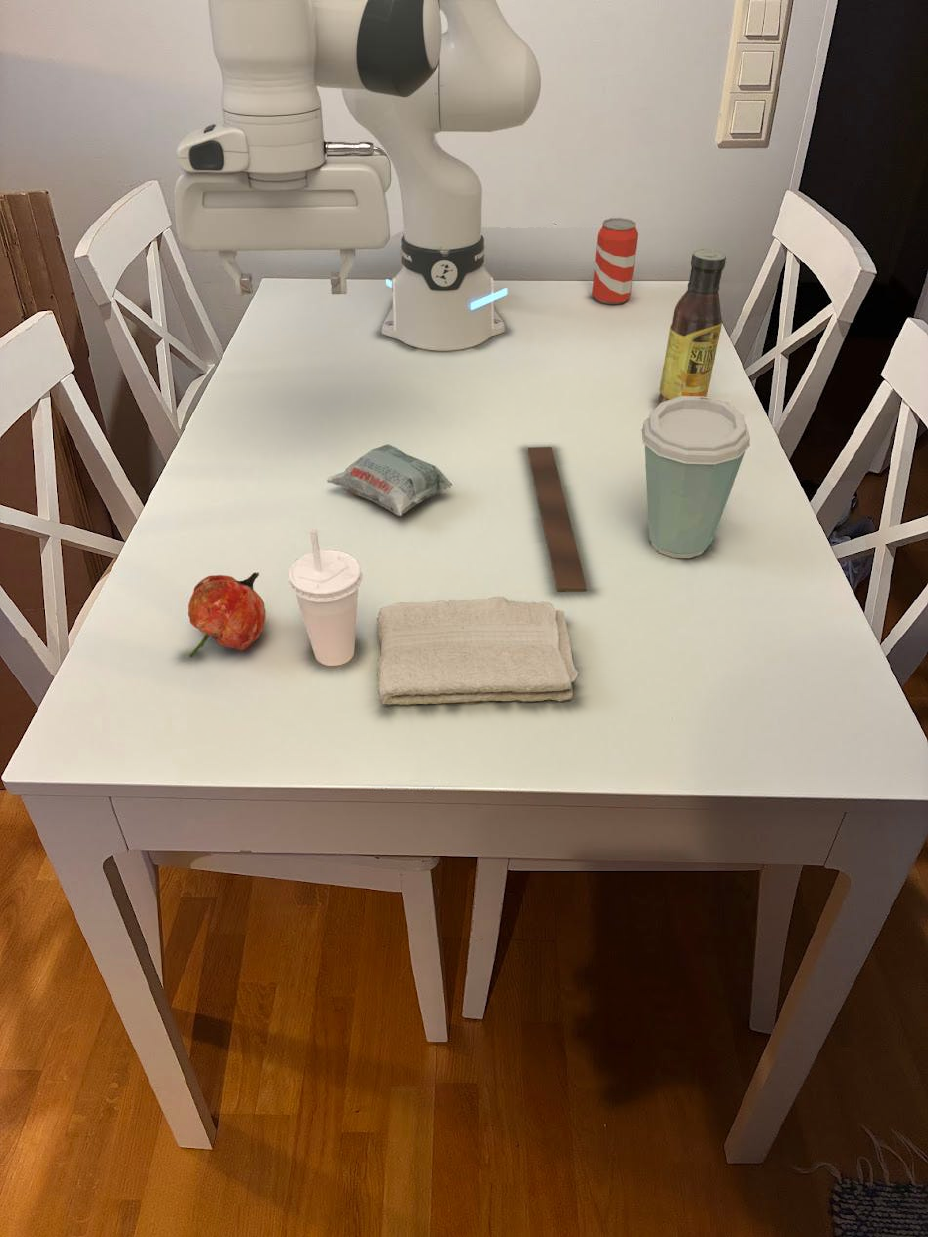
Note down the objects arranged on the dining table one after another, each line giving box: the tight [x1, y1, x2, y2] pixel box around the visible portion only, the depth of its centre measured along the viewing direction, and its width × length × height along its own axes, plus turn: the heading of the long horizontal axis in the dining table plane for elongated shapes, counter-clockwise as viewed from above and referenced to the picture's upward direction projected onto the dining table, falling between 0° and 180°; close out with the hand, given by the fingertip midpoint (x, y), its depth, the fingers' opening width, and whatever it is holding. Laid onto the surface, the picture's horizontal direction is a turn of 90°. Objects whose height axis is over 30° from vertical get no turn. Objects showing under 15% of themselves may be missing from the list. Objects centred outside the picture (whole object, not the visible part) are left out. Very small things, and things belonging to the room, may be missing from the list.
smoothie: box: [288, 528, 364, 667], centre depth 83 cm, size 6×6×14 cm
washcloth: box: [376, 596, 580, 706], centre depth 85 cm, size 12×18×3 cm, turn 94°
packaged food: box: [326, 444, 453, 517], centre depth 106 cm, size 9×12×5 cm
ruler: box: [526, 446, 588, 592], centre depth 105 cm, size 28×3×1 cm, turn 3°
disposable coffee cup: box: [640, 396, 751, 559], centre depth 96 cm, size 11×11×15 cm
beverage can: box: [591, 217, 639, 305], centre depth 149 cm, size 6×6×12 cm
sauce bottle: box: [658, 249, 727, 404], centre depth 118 cm, size 6×6×20 cm
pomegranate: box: [187, 572, 267, 658], centre depth 86 cm, size 7×7×10 cm
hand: (292, 293), depth 94 cm, fingers open, 8 cm apart
